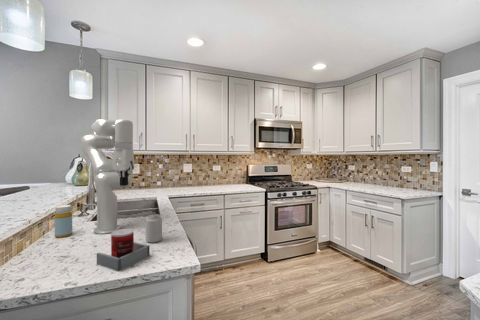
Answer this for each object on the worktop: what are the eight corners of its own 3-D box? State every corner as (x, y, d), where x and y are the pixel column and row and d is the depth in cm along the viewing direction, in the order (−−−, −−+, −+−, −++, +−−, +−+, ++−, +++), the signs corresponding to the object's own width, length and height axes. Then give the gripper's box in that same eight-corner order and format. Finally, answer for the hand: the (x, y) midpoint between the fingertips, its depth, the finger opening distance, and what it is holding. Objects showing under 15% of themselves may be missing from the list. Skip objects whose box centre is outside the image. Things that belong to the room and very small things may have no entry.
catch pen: (96, 263, 86) (96, 253, 86) (129, 250, 99) (129, 240, 99) (118, 270, 81) (118, 259, 81) (149, 255, 94) (149, 245, 94)
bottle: (75, 234, 119) (75, 205, 118) (61, 238, 112) (60, 208, 112) (66, 232, 121) (65, 204, 121) (51, 237, 114) (51, 207, 114)
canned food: (121, 254, 95) (121, 227, 94) (138, 256, 93) (138, 229, 92) (106, 262, 87) (106, 234, 87) (124, 265, 85) (123, 236, 85)
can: (156, 244, 106) (156, 218, 105) (142, 242, 107) (142, 217, 107) (165, 238, 113) (165, 214, 113) (151, 237, 115) (151, 213, 114)
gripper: (106, 146, 108) (106, 185, 109) (127, 146, 101) (127, 187, 102) (120, 146, 115) (120, 183, 116) (141, 146, 108) (141, 185, 109)
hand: (123, 185), depth 109 cm, fingers closed
